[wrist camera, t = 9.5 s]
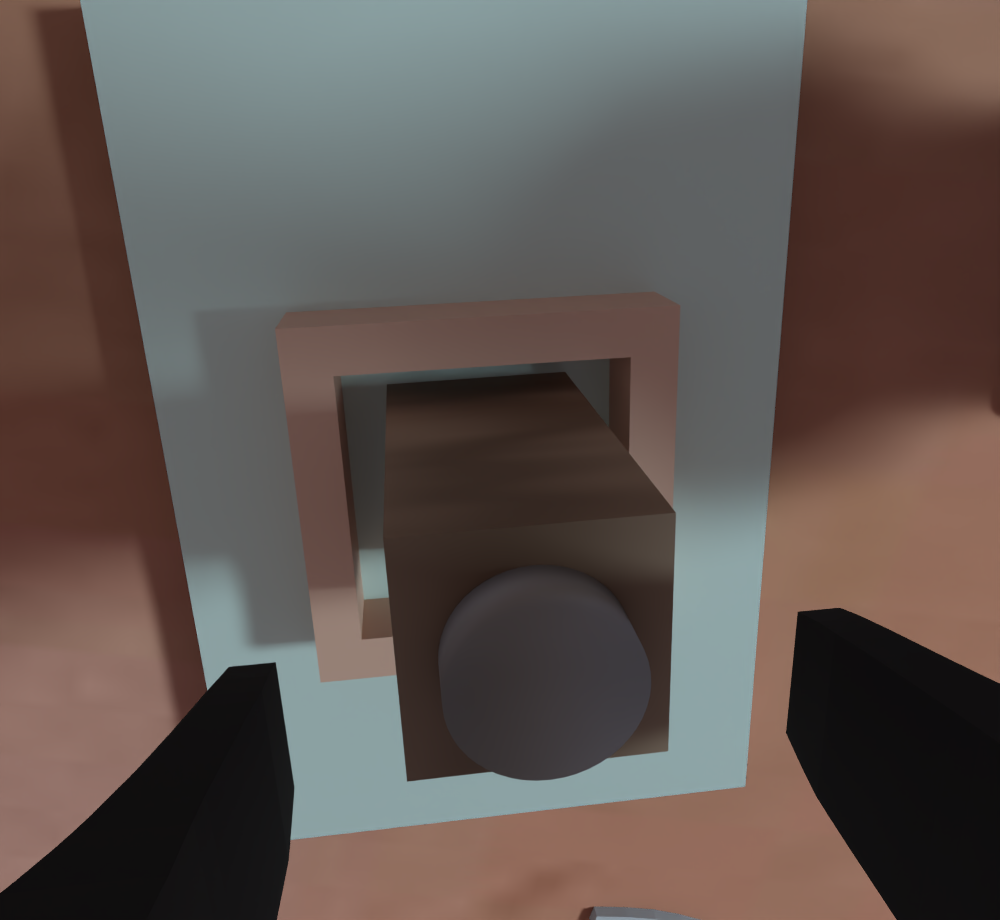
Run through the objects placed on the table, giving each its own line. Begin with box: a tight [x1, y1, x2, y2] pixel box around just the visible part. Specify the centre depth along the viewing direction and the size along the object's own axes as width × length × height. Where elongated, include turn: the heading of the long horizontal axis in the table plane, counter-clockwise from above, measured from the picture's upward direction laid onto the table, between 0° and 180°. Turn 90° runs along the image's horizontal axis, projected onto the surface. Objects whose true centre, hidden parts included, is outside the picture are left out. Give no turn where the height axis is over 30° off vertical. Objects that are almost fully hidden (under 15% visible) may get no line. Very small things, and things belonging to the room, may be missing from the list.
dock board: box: [80, 0, 807, 840], centre depth 19 cm, size 14×20×3 cm
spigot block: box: [383, 372, 676, 782], centre depth 15 cm, size 4×4×9 cm
